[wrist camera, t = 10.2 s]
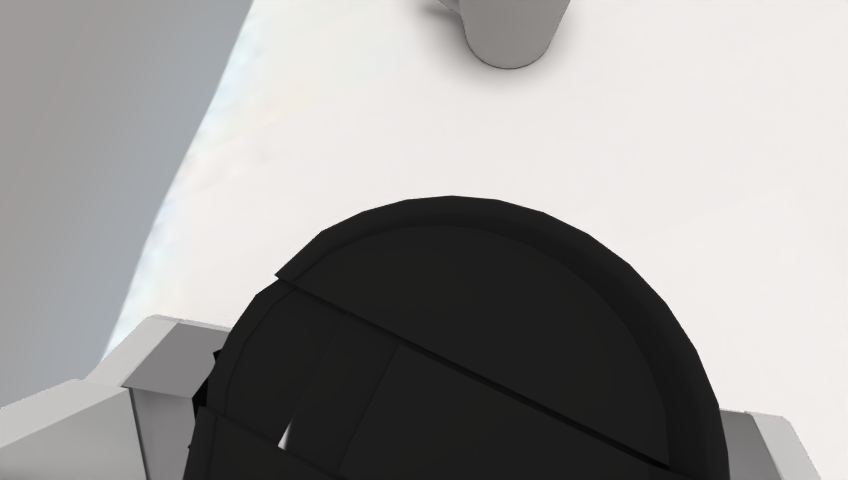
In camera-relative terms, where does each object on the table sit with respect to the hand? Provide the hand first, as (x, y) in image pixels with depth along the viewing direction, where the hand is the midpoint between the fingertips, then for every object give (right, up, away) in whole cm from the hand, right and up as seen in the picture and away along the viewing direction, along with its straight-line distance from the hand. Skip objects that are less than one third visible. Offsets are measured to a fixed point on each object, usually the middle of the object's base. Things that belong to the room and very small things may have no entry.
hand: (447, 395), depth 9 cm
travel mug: (+1, -6, +16) cm, 17 cm away
